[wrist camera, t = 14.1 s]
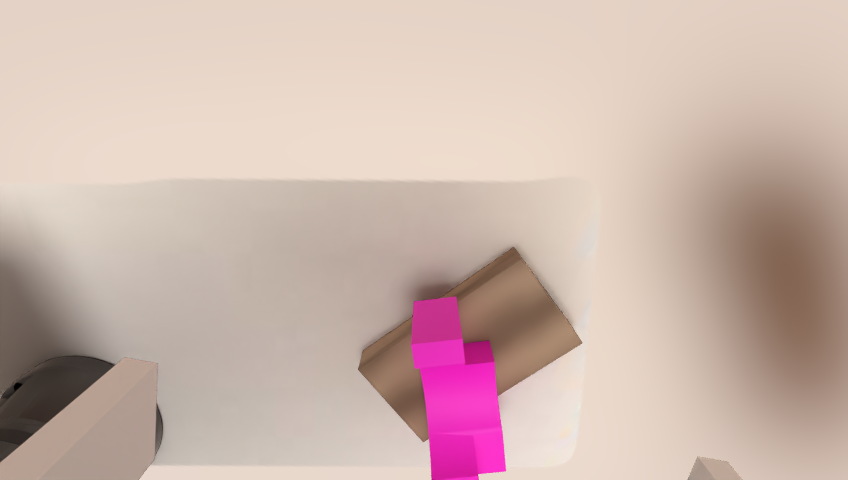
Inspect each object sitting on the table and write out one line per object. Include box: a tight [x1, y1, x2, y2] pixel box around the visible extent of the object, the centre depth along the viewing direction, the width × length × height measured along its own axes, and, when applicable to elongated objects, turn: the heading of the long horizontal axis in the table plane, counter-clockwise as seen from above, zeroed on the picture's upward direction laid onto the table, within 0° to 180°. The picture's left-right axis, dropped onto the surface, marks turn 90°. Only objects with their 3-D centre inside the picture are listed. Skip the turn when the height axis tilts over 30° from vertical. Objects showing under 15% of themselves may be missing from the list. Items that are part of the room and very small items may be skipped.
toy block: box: [411, 297, 506, 480], centre depth 39 cm, size 15×6×8 cm, turn 7°
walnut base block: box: [358, 248, 582, 442], centre depth 44 cm, size 10×18×4 cm, turn 127°
